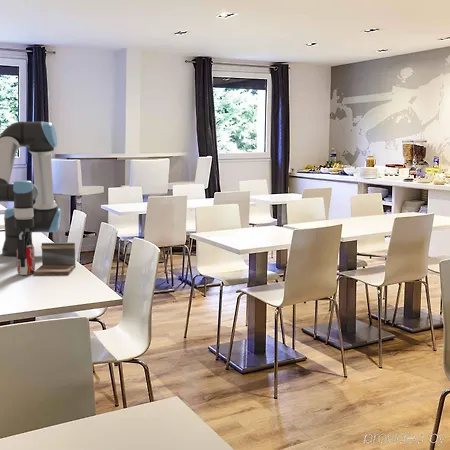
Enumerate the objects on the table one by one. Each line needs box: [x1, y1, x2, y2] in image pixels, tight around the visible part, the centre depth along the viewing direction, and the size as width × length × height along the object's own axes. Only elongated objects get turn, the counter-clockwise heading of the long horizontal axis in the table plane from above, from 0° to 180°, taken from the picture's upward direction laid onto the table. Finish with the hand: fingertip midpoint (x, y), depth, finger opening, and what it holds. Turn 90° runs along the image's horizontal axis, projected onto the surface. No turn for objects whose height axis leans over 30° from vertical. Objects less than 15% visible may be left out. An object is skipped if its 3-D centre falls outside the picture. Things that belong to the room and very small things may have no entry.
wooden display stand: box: [33, 242, 76, 276], centre depth 259 cm, size 16×14×11 cm
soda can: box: [16, 245, 36, 276], centre depth 254 cm, size 7×7×12 cm
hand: (26, 272), depth 255 cm, fingers closed on soda can, 7 cm apart
